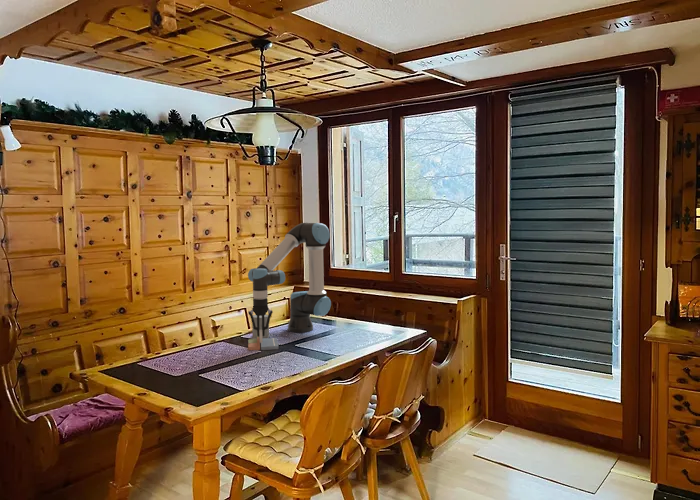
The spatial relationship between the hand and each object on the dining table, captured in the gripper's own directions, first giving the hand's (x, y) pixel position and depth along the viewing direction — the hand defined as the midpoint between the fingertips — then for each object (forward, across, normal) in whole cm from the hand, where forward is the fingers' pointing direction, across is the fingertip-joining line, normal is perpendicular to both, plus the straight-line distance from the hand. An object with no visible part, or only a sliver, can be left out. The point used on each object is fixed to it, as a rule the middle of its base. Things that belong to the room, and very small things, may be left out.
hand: (260, 342), depth 285 cm
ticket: (+3, -4, -5) cm, 7 cm away
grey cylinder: (+3, -1, -24) cm, 24 cm away
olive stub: (+3, +4, -9) cm, 10 cm away
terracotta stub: (+3, +4, 0) cm, 5 cm away
